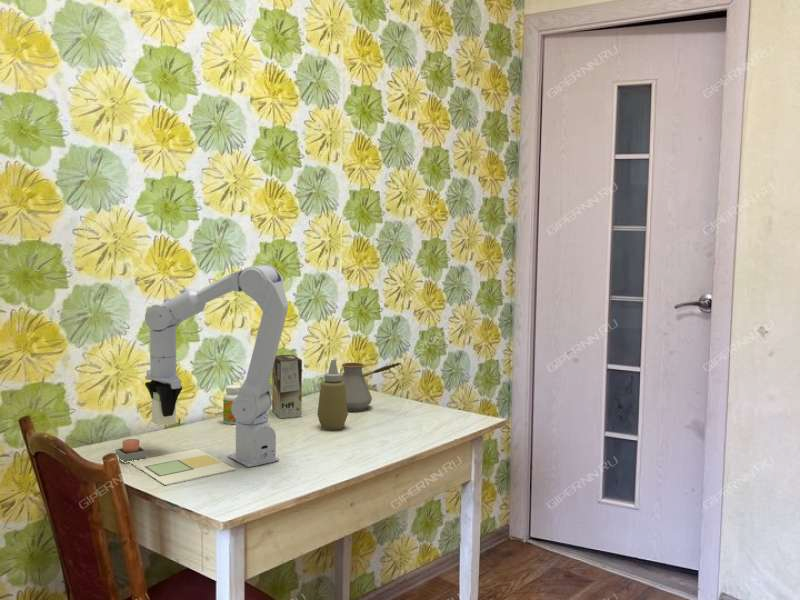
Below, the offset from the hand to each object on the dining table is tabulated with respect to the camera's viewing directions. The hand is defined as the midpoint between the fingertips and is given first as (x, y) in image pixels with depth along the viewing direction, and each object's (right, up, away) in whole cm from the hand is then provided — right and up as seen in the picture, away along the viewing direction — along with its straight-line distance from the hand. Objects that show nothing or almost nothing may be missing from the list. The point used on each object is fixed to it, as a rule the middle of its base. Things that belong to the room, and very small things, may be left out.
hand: (163, 413), depth 177 cm
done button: (-6, -8, -5) cm, 11 cm away
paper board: (+7, -10, -10) cm, 16 cm away
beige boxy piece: (0, -2, 0) cm, 2 cm away
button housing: (-6, -9, -5) cm, 12 cm away
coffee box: (+23, -6, +37) cm, 44 cm away
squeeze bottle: (+37, -8, +24) cm, 45 cm away
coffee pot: (+45, -6, +43) cm, 63 cm away
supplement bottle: (+10, -7, +27) cm, 30 cm away
